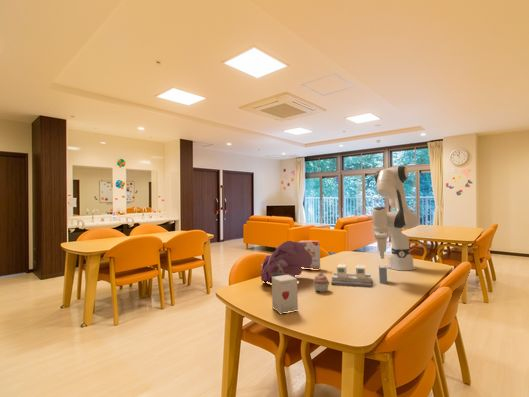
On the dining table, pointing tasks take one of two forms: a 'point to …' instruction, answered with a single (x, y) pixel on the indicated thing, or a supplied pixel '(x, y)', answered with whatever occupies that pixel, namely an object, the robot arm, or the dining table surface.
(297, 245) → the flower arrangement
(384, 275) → the block
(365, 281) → the rail plate
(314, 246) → the cracker box
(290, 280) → the supplement box
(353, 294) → the dining table surface
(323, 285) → the cupcake
